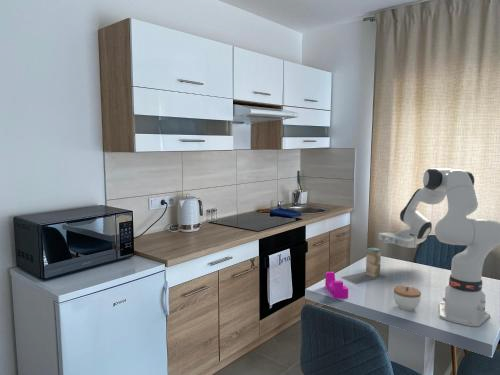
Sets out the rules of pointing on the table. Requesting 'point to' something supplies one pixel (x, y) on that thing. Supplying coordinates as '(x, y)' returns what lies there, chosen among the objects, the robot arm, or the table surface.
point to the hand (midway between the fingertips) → (386, 241)
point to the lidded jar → (407, 297)
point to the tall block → (373, 262)
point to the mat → (361, 277)
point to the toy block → (335, 286)
